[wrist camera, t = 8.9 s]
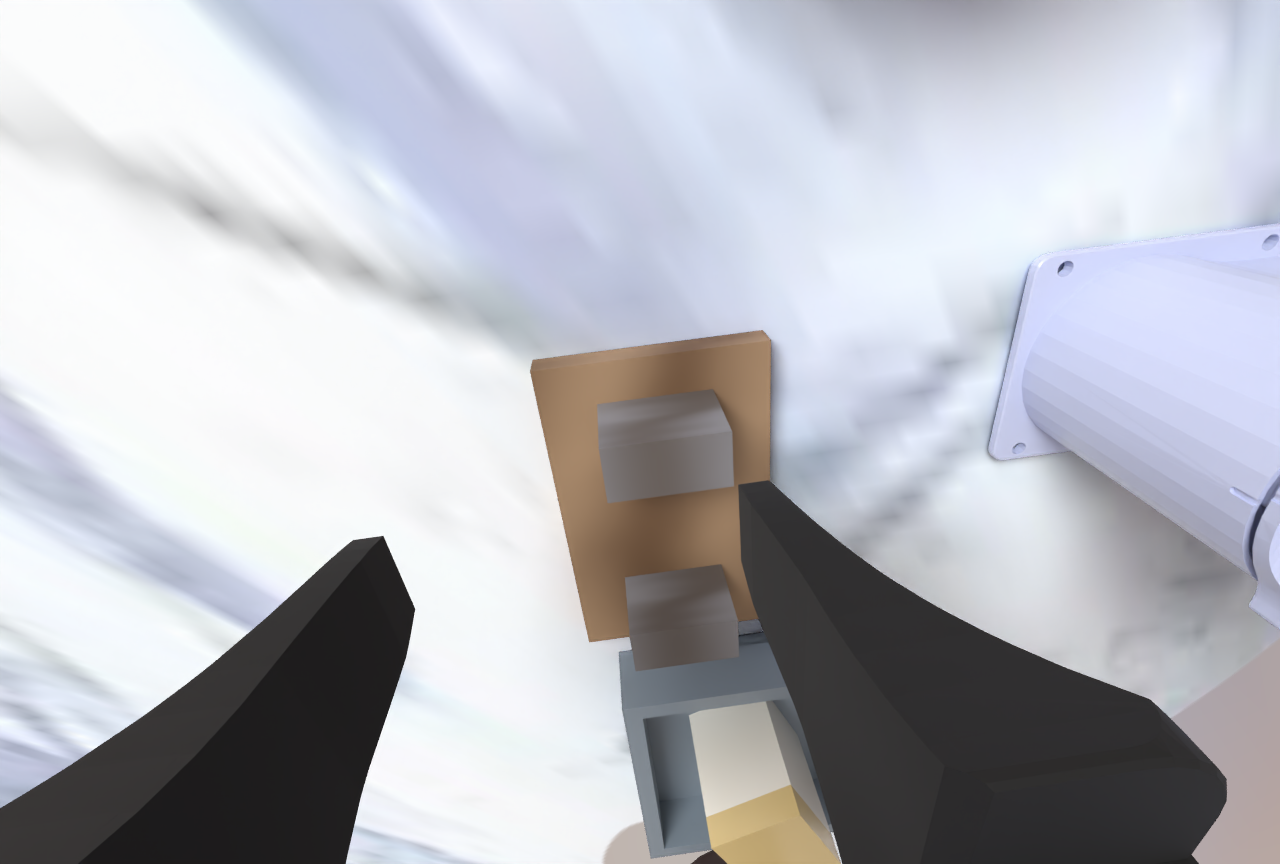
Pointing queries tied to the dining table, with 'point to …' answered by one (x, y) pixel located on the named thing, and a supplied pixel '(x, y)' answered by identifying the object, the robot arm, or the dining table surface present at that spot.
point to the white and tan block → (758, 788)
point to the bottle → (709, 859)
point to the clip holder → (659, 487)
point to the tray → (666, 738)
